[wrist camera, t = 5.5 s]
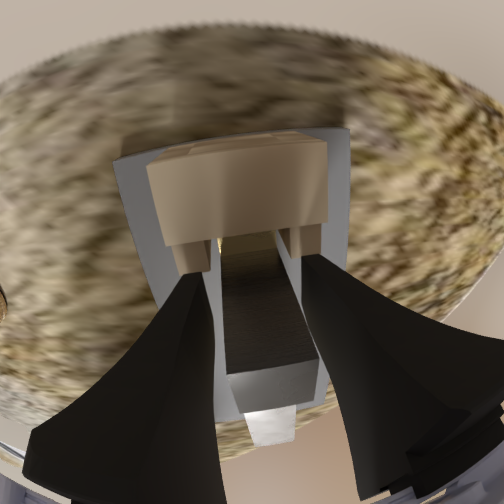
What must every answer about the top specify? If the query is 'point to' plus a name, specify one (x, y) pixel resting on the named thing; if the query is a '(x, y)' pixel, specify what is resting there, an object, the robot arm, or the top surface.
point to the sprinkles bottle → (2, 308)
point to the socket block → (240, 193)
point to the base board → (163, 262)
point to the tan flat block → (264, 327)
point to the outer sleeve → (272, 425)
